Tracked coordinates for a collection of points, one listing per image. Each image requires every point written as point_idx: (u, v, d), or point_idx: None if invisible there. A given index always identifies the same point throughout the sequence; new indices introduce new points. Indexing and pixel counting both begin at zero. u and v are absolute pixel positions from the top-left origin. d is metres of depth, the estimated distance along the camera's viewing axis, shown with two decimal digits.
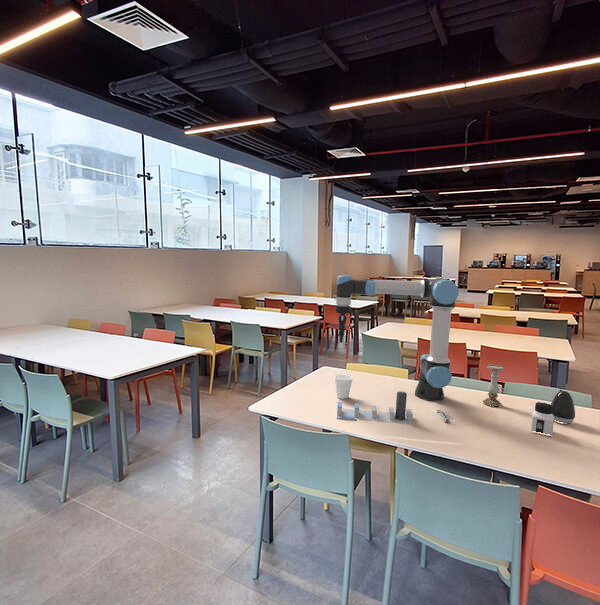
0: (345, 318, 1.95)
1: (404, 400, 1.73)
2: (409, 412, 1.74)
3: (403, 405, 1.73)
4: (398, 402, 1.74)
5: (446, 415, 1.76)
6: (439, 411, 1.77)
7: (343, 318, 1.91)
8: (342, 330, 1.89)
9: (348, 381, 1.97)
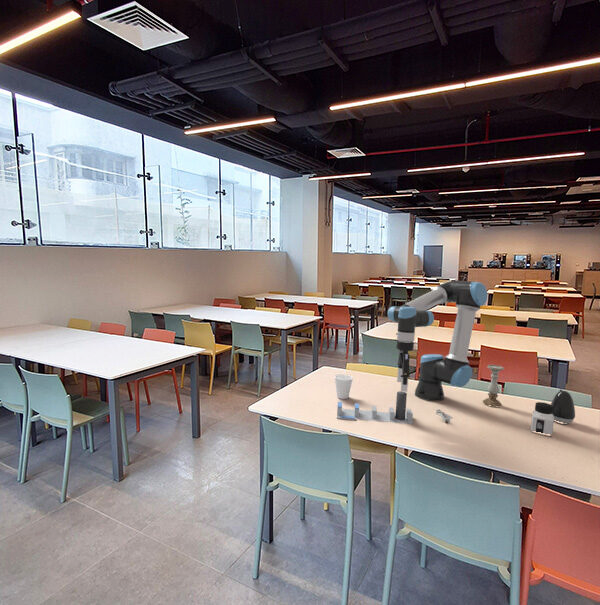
0: None
1: (404, 400, 1.73)
2: (409, 412, 1.74)
3: (403, 405, 1.73)
4: (398, 402, 1.74)
5: (446, 415, 1.76)
6: (438, 411, 1.77)
7: (407, 357, 1.66)
8: (407, 371, 1.64)
9: (348, 381, 1.97)
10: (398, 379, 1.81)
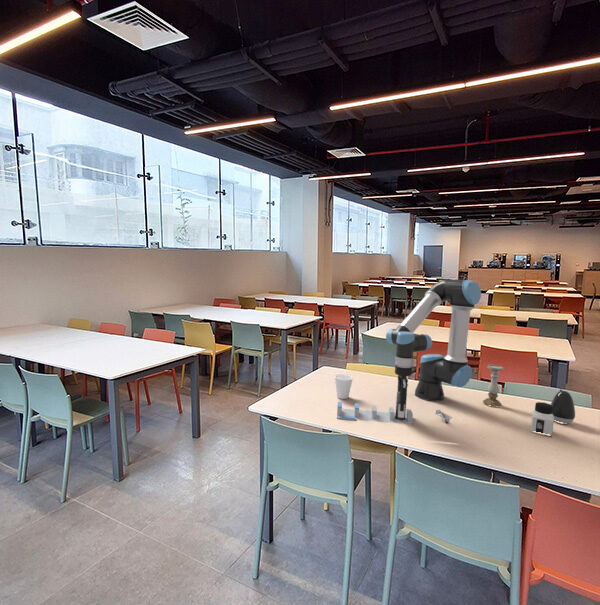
0: (406, 382, 1.72)
1: None
2: (409, 412, 1.74)
3: None
4: None
5: (445, 415, 1.76)
6: (438, 411, 1.77)
7: (405, 386, 1.68)
8: (404, 399, 1.69)
9: (348, 381, 1.97)
10: None
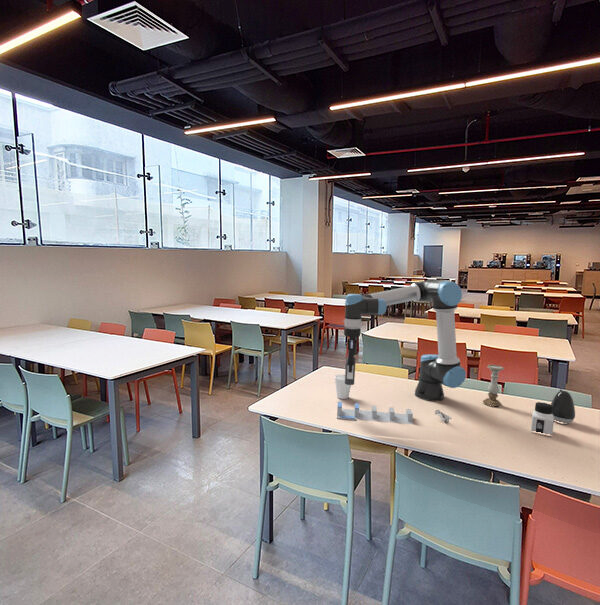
0: (355, 343, 1.73)
1: None
2: (409, 412, 1.74)
3: None
4: None
5: (444, 415, 1.75)
6: (437, 411, 1.76)
7: (353, 346, 1.69)
8: (351, 360, 1.70)
9: None
10: None
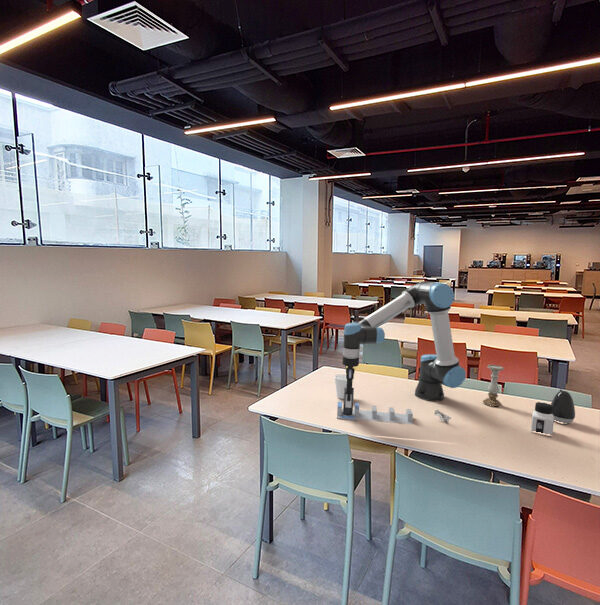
0: (353, 372, 1.75)
1: None
2: (409, 412, 1.74)
3: None
4: (345, 397, 1.77)
5: (444, 415, 1.75)
6: (437, 411, 1.76)
7: (351, 376, 1.71)
8: (350, 389, 1.72)
9: None
10: None
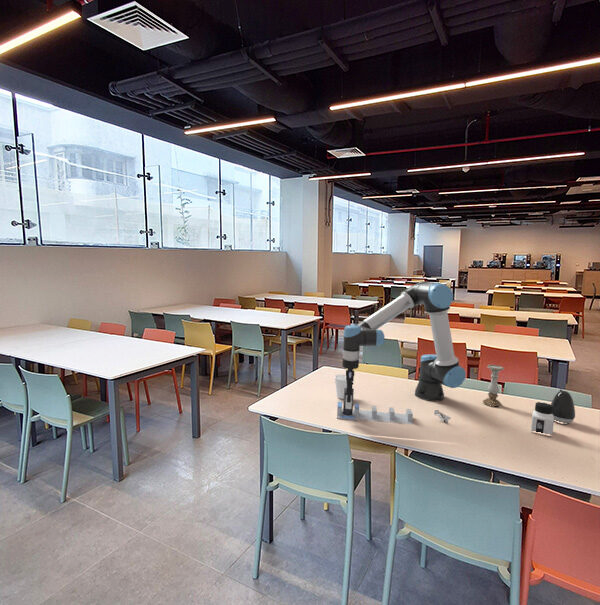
0: (353, 374, 1.75)
1: None
2: (409, 412, 1.74)
3: None
4: (345, 398, 1.77)
5: (444, 416, 1.75)
6: (437, 412, 1.76)
7: (351, 375, 1.70)
8: (350, 389, 1.69)
9: None
10: None
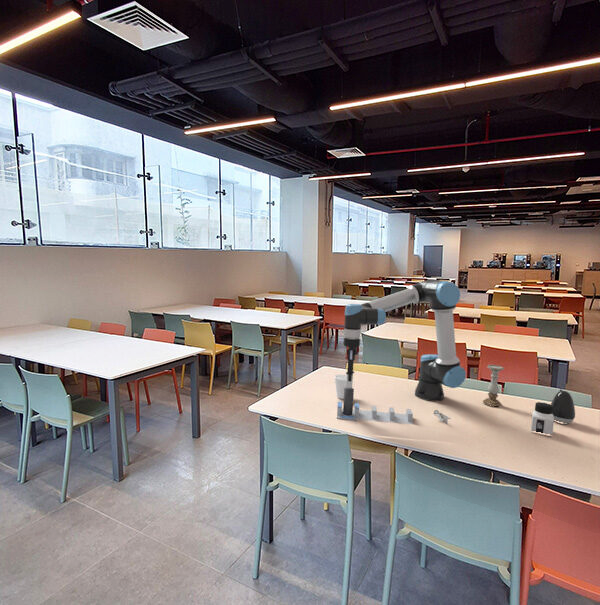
0: (354, 353, 1.74)
1: (351, 396, 1.76)
2: (409, 412, 1.74)
3: (350, 400, 1.77)
4: (345, 398, 1.77)
5: (443, 416, 1.75)
6: (436, 412, 1.76)
7: (352, 358, 1.70)
8: (351, 370, 1.73)
9: None
10: None
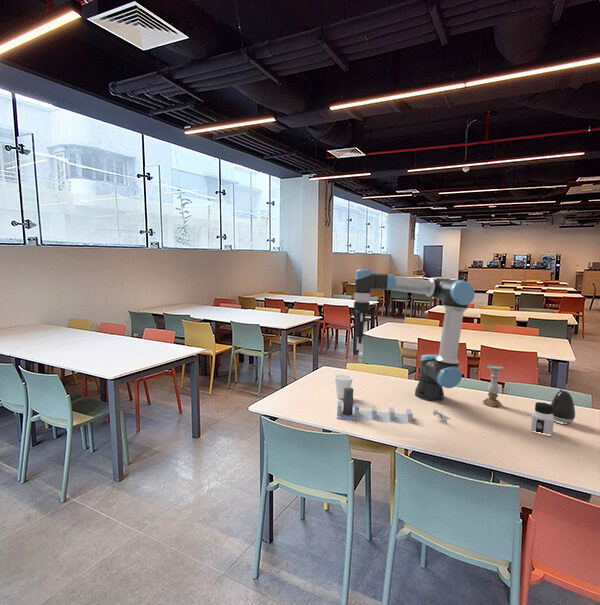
0: (364, 316, 1.82)
1: (350, 396, 1.76)
2: (409, 412, 1.74)
3: (350, 400, 1.76)
4: (345, 398, 1.77)
5: (442, 416, 1.75)
6: (435, 412, 1.76)
7: (362, 320, 1.78)
8: (361, 332, 1.80)
9: (348, 381, 1.97)
10: None
